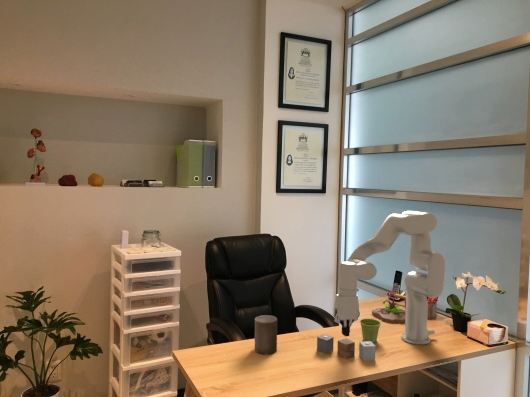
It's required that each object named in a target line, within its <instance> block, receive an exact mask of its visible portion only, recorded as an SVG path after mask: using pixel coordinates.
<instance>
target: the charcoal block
mask: <svg viewBox="0 0 530 397" xmlns="http://www.w3.org/2000/svg"><path fill="white" fill-rule="evenodd" d="M316 351H317V352H320V353H322V354H325V355H328V354H329V353H332V352H334V336H332V335H328V334H325V333H323V334H321V335H319V336H317V338H316Z"/></svg>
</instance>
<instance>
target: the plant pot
mask: <svg viewBox="0 0 530 397" xmlns="http://www.w3.org/2000/svg"><path fill="white" fill-rule="evenodd" d="M381 322H382V321H381V320H380V321H379V320H378V319H375V318H362V319H359V323H360V326H361V333H362V334H361V335H362V342H363V341H371V342H372V343H373V344H374V343H377V342H378V340H377V339H378V335H379V330H380V326H381V325H382V323H381Z"/></svg>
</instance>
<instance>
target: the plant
mask: <svg viewBox="0 0 530 397" xmlns="http://www.w3.org/2000/svg"><path fill="white" fill-rule="evenodd" d="M395 300H399V296H394V297H393V299H392V301H390V300H383V301H382V304H383V306H384V307H380V308H375V309H372V311H371V316H373V317H374V318H377V319H379V320H380V321H381V322H384V323H387V324H393V325H394V324H405V316H406V309H405V310H404V309H403V306H399V304H398V303H397V302H395ZM386 302H387V303H388V304H386Z"/></svg>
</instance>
